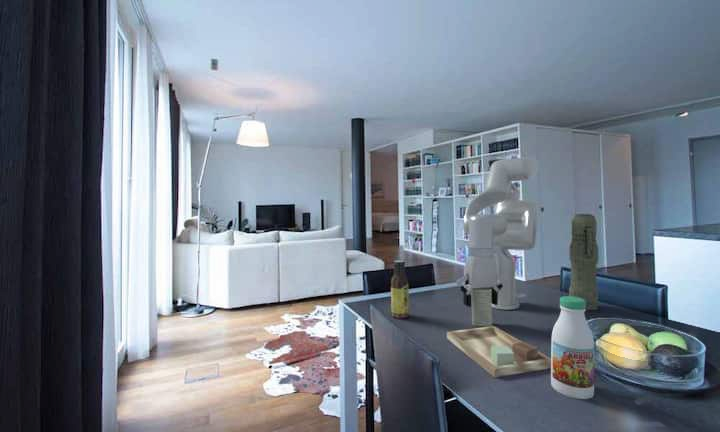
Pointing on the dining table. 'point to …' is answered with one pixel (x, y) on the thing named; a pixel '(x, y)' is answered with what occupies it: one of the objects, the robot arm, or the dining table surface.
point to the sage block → (501, 355)
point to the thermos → (584, 260)
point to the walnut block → (524, 352)
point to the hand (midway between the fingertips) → (480, 304)
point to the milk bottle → (572, 351)
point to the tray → (479, 350)
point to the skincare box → (481, 307)
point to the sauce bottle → (399, 291)
